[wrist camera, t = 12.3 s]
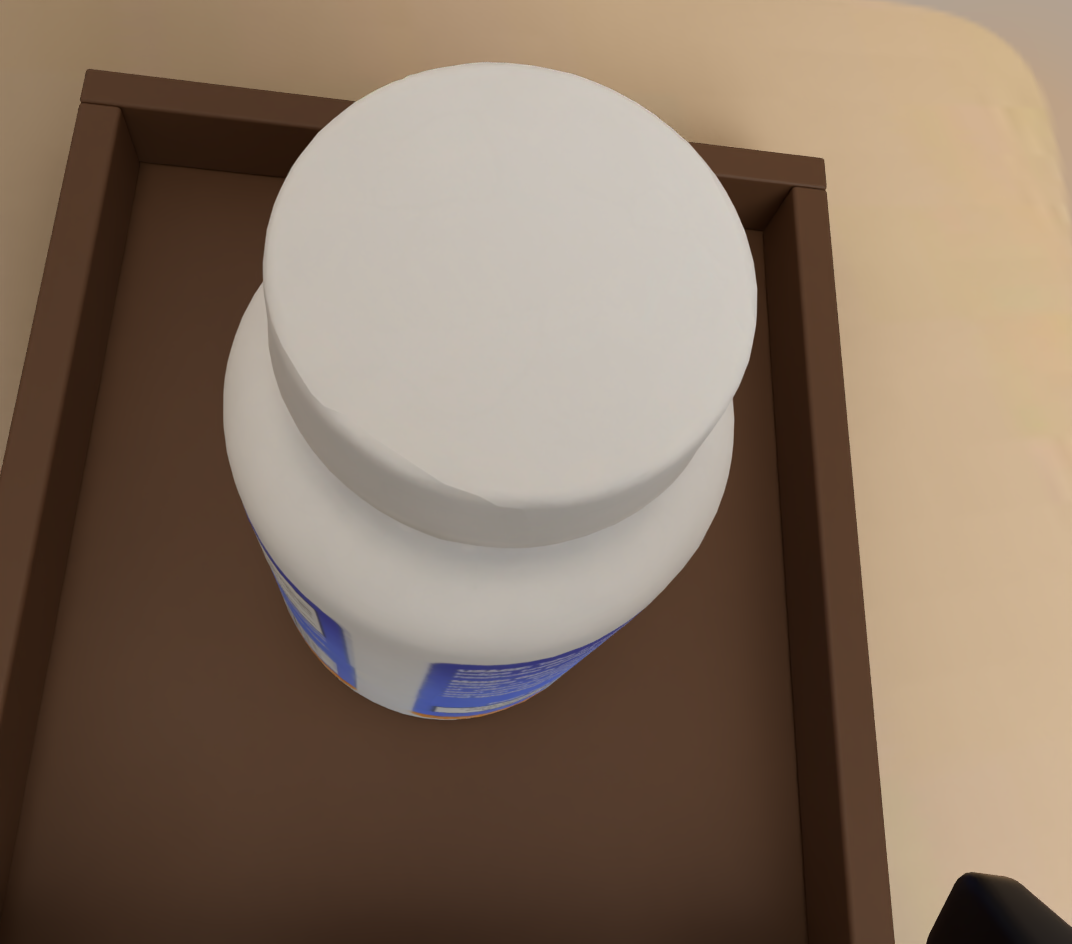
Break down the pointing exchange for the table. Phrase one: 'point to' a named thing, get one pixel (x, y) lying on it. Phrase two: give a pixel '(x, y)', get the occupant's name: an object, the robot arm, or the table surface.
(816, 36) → the table surface
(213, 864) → the tray
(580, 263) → the pill bottle
